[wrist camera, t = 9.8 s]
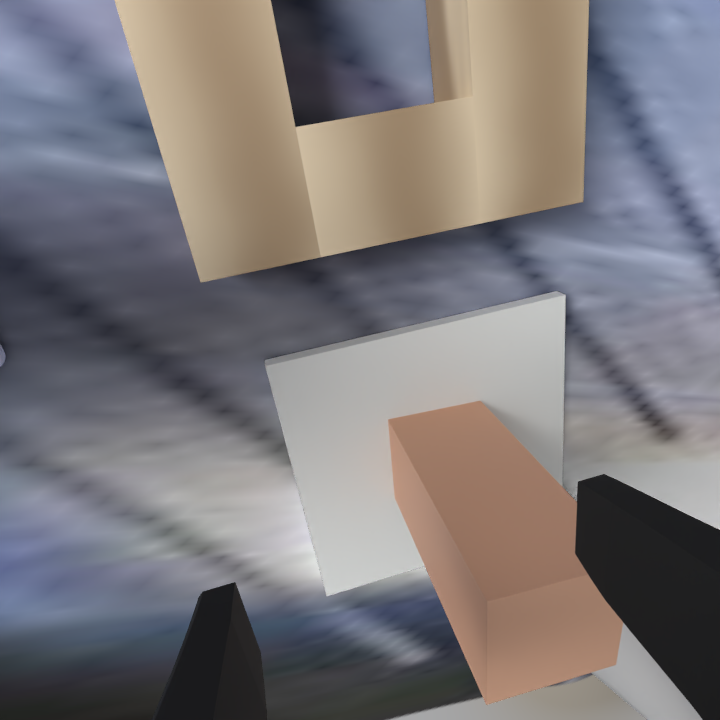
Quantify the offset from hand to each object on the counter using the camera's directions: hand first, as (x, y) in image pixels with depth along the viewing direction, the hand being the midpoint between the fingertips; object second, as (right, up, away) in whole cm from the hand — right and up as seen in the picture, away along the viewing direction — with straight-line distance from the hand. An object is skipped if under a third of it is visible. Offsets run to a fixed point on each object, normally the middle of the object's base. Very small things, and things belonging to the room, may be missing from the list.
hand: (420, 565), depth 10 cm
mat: (+2, 0, +12) cm, 12 cm away
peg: (+2, 0, +11) cm, 11 cm away
